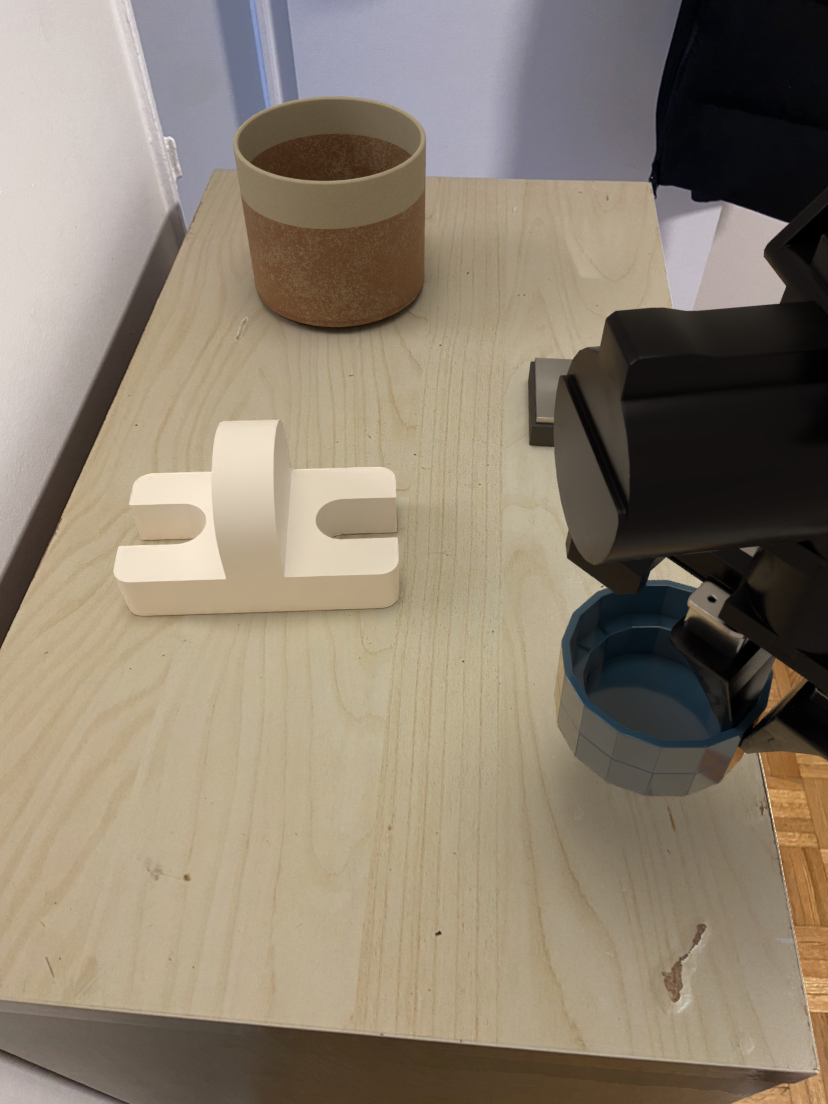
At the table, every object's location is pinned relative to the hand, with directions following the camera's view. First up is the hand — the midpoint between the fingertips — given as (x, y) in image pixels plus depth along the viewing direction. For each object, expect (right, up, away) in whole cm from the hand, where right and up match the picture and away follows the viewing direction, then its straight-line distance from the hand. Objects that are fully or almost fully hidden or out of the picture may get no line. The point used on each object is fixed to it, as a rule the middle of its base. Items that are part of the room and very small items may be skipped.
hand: (740, 737), depth 37 cm
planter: (-21, +34, +42) cm, 58 cm away
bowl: (-3, 0, +4) cm, 5 cm away
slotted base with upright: (-25, +8, +21) cm, 33 cm away
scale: (-1, +19, +30) cm, 36 cm away
